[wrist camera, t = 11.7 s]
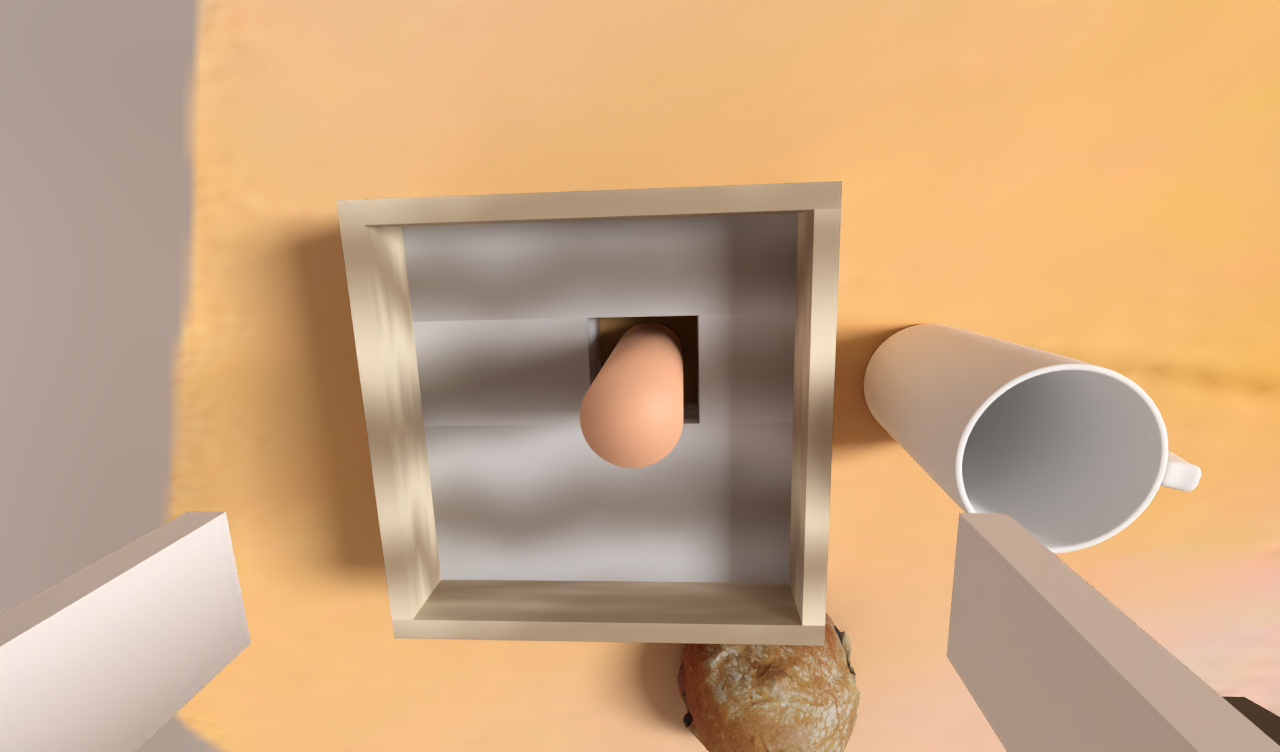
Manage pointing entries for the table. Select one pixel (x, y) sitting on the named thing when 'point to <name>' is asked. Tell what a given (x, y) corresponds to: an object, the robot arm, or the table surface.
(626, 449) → the peg
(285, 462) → the table surface
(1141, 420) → the mug
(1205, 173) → the table surface
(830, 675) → the bread roll
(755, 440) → the socket box
